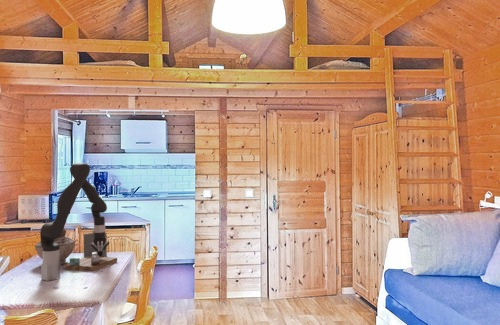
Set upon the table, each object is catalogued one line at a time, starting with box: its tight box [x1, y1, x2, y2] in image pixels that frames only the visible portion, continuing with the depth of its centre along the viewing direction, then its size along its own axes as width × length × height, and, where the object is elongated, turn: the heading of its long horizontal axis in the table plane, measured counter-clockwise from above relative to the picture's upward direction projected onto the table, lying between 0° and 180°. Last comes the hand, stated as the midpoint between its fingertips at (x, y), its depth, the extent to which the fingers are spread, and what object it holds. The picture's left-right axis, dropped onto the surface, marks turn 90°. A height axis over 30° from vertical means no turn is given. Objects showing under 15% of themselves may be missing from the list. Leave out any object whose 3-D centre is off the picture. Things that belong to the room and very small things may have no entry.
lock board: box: [62, 256, 118, 272], centre depth 269 cm, size 24×25×7 cm
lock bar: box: [91, 252, 99, 265], centre depth 267 cm, size 20×5×5 cm, turn 23°
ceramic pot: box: [34, 227, 76, 266], centre depth 276 cm, size 25×25×24 cm
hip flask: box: [83, 229, 108, 258], centre depth 294 cm, size 16×4×20 cm, turn 105°
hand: (100, 256), depth 275 cm, fingers closed
